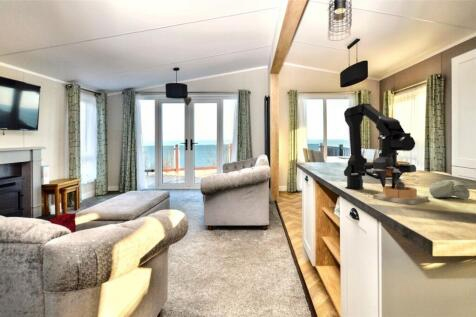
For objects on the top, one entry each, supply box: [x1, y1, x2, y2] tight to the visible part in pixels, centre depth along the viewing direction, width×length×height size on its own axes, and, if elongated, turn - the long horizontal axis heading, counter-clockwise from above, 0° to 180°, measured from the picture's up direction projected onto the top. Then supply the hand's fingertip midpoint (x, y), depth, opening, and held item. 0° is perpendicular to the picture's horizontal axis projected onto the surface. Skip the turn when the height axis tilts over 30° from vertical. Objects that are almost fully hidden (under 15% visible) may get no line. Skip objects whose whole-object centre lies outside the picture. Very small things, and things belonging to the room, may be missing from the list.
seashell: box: [428, 179, 471, 200], centre depth 112 cm, size 13×8×10 cm
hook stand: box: [372, 181, 429, 206], centre depth 112 cm, size 15×13×7 cm
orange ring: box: [382, 185, 418, 198], centre depth 112 cm, size 11×11×3 cm
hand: (388, 187), depth 116 cm, fingers open, 3 cm apart
